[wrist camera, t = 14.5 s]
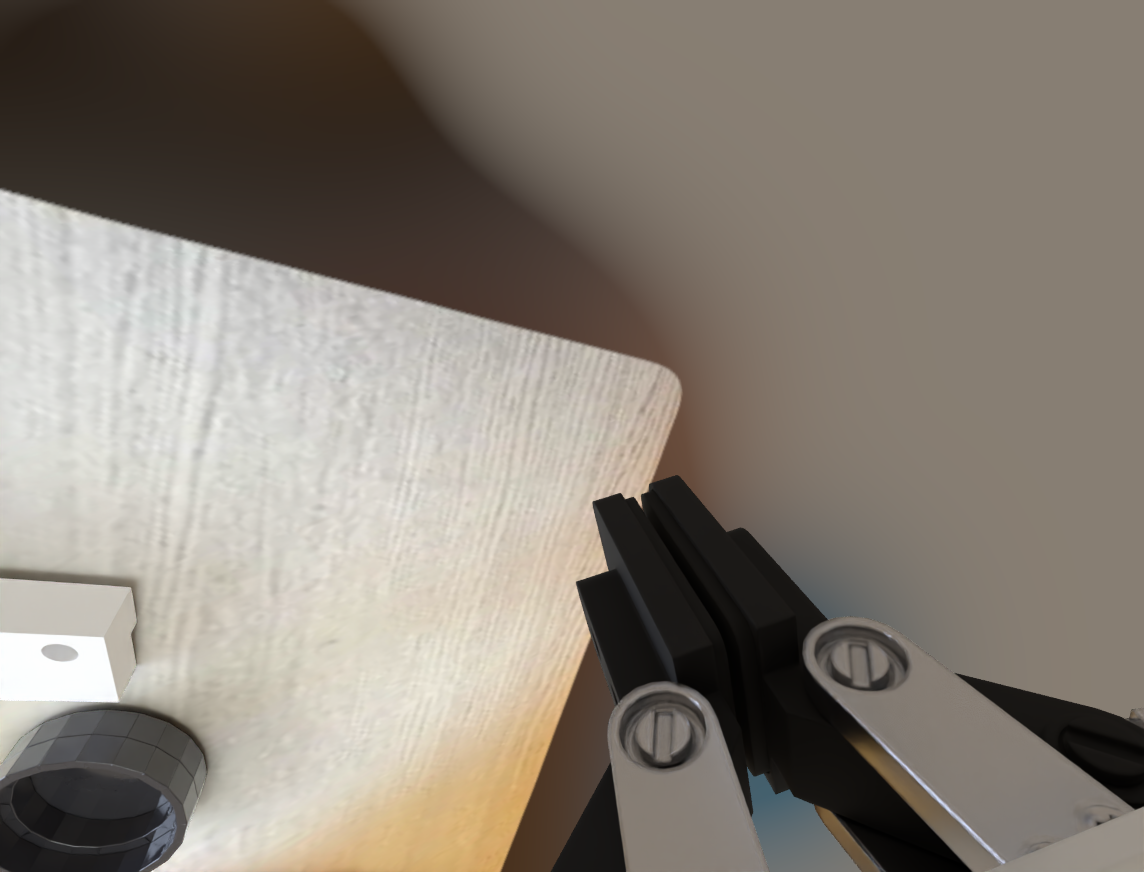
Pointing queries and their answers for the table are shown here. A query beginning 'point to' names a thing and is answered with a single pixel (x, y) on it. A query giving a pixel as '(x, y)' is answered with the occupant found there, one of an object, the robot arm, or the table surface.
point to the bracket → (65, 641)
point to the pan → (98, 794)
